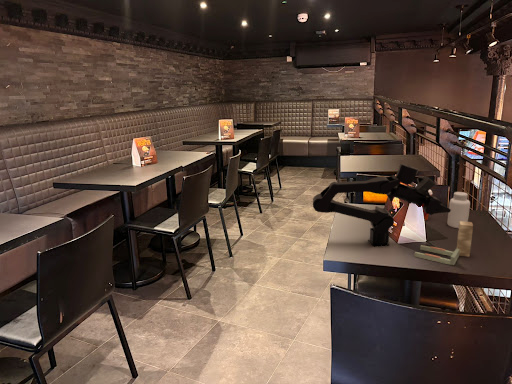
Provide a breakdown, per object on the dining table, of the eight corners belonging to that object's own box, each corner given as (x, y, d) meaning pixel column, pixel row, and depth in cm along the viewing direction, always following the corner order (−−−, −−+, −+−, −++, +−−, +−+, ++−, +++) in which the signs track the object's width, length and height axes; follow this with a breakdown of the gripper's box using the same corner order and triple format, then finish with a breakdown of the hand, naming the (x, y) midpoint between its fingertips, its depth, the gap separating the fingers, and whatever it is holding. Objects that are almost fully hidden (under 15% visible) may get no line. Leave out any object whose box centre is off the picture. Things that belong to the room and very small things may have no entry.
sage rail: (414, 256, 137) (414, 249, 136) (421, 248, 143) (421, 241, 142) (453, 265, 129) (454, 257, 128) (458, 256, 135) (459, 249, 134)
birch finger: (457, 255, 136) (460, 224, 133) (456, 250, 140) (459, 221, 137) (470, 256, 135) (473, 226, 132) (468, 252, 138) (472, 222, 135)
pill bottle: (466, 229, 160) (470, 196, 156) (446, 227, 164) (449, 194, 160) (467, 224, 166) (471, 192, 162) (448, 221, 170) (451, 190, 166)
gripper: (423, 180, 131) (465, 194, 131) (409, 169, 149) (446, 182, 149) (410, 208, 135) (451, 222, 134) (397, 194, 152) (434, 206, 152)
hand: (445, 207), depth 142 cm, fingers open, 9 cm apart
